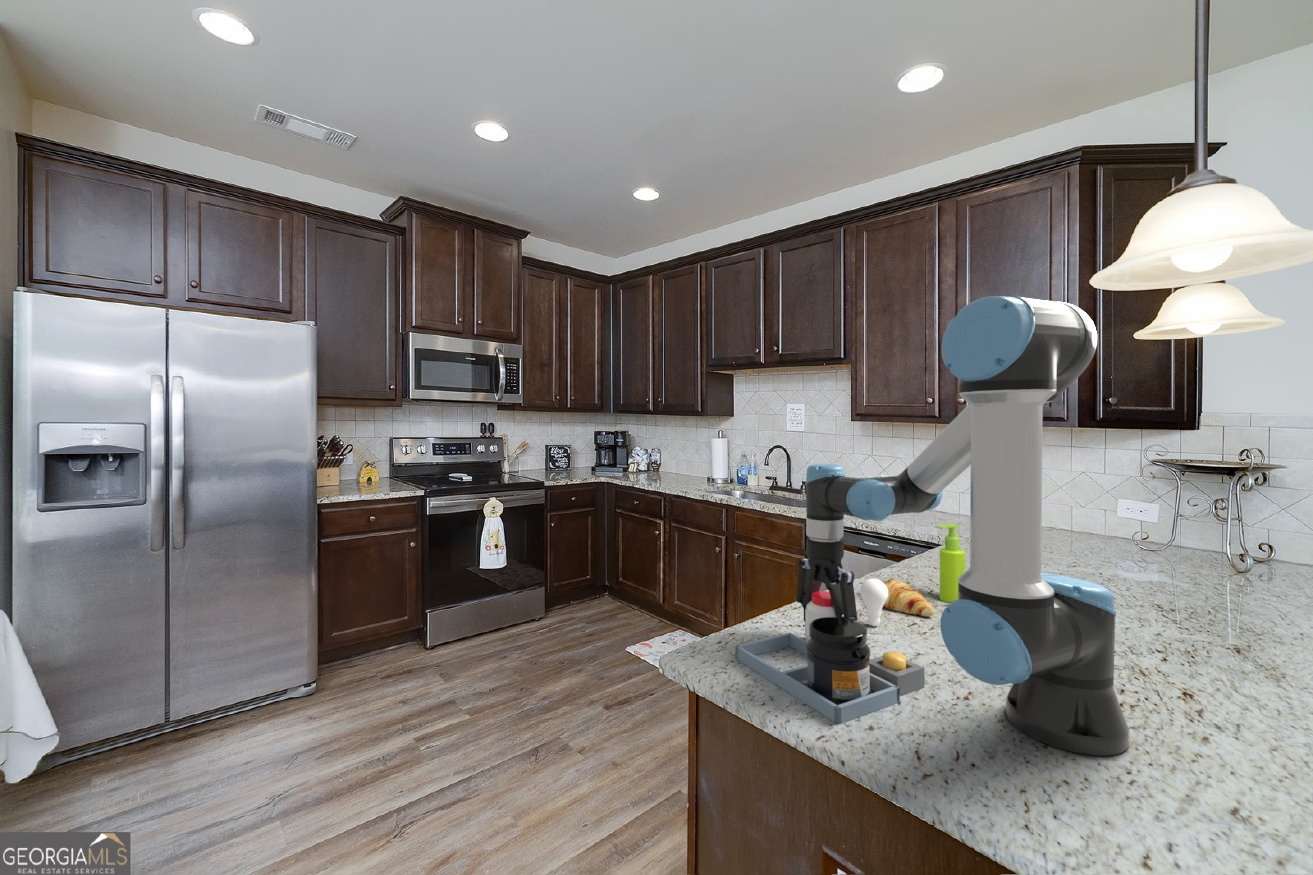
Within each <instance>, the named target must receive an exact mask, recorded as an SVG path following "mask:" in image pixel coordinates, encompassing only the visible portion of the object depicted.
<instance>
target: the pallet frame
mask: <svg viewBox="0 0 1313 875" xmlns="http://www.w3.org/2000/svg"><path fill="white" fill-rule="evenodd" d="M806 644H807V641H806V639H803V638H802V637H800V636H798V635H796V634H794V633H792V632H788V633H784V634H779V635H774V636H771V637H767V638H762V639H759V640H755V641H751V642H750V641H749V642H746V643H742V644H737V645H734V647H735V648H734V649H735V654H734V655H735V659H736V660H737V659H738V661H739V662H741V663H742V664H744V665H745V666H747V667H748V668H750V669H751V668H752V669H751V670H753V671H754V670H755V671H754V672H756V673H757V674H759V675H761V676H762V677H763V678H765V679H767V680H768V681H770V682H772V683H773V684H775V685H777V686H778V687H779V688H781V689H782V690H784V691H785V692H787V693H788V694H790V695H792V696H793V697H795V698H796V699H798V700H799V701H800V702H802V703H804V704H805V705H807V706H809V707H810V708H812V709H814V710H815V711H816V712H818V713H819V714H821V715H822V716H824V717H825V718H827V719H828V720H830V721H832V723H834V724H835V723H836V725H840V724H843V723H845V722H849V721H852V720H854V719H857V718H860V717H862V716H866V715H868V714H871V713H874V712H876V711H880V710H882V709H885V708H888V707H889V706H890V707H891V706H893V705H895V704H898V703H900V702H901V701H900V698H901V696H900V687H898V686H896V685H894V684H892V683H890V682H888V681H886V680H884V679H882V678H880V677H878V676H876V675H874V674H872V673H870V691H874V692H873V693H870V694H869V695H866V696H864V697H861V698H858V699H855V700H852V701H849V702H846V703H843V704H840V705H836V704H834V703H833V702H831V701H829V700H828V699H826V698H824V697H823V696H821V695H819V694H818V693H816V692H814V691H813V690H811V689H809V688H808V687H807V685H805V684H802V683H803V682H804V683H805V682H807V664H804V665H801V666H798V667H794V668H790V669H787V670H783V671H782V670H780V669H779V668H776V667H775V666H773V665H771V664H769V663H768V662H766V661H765V660H763V659H761V657H758V655H761V654H766V653H769V652H773V651H777V650H781V649H785V648H788V647H791V648H793V649H795V650H796V651H798V652H800V653H802V654H804V655H806V656H807V647H806Z"/></svg>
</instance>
